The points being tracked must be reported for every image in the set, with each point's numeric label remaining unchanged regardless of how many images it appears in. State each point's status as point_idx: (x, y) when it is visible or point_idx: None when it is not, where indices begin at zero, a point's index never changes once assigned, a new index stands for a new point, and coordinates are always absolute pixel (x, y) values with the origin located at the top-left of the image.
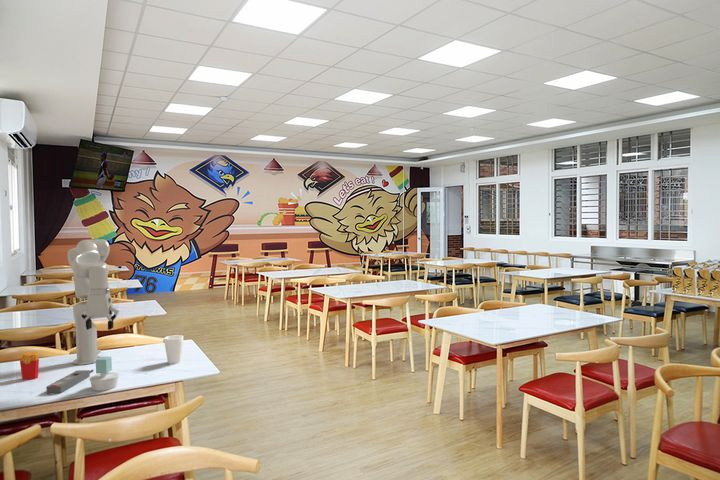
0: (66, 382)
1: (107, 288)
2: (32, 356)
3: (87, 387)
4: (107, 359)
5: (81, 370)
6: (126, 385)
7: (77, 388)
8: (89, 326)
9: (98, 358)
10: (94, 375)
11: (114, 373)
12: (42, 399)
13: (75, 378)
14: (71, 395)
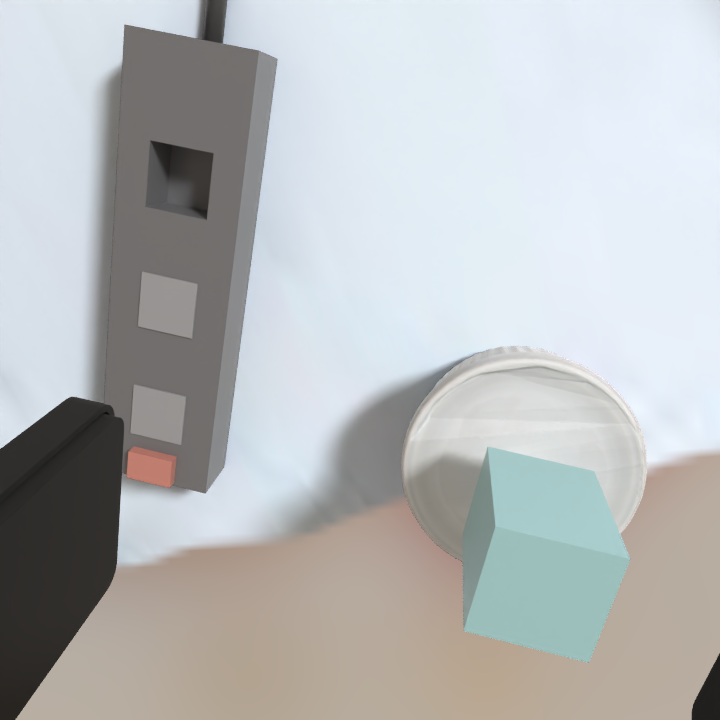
0: (206, 408)
1: None
2: None
3: (370, 387)
4: (597, 631)
5: (176, 39)
6: (687, 429)
7: (300, 389)
8: (79, 561)
9: (482, 589)
10: (420, 424)
11: (599, 407)
12: (159, 546)
13: (230, 302)
14: (317, 529)
